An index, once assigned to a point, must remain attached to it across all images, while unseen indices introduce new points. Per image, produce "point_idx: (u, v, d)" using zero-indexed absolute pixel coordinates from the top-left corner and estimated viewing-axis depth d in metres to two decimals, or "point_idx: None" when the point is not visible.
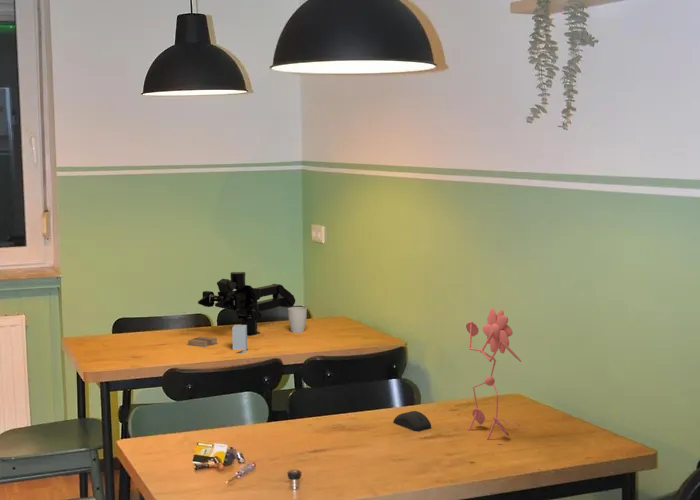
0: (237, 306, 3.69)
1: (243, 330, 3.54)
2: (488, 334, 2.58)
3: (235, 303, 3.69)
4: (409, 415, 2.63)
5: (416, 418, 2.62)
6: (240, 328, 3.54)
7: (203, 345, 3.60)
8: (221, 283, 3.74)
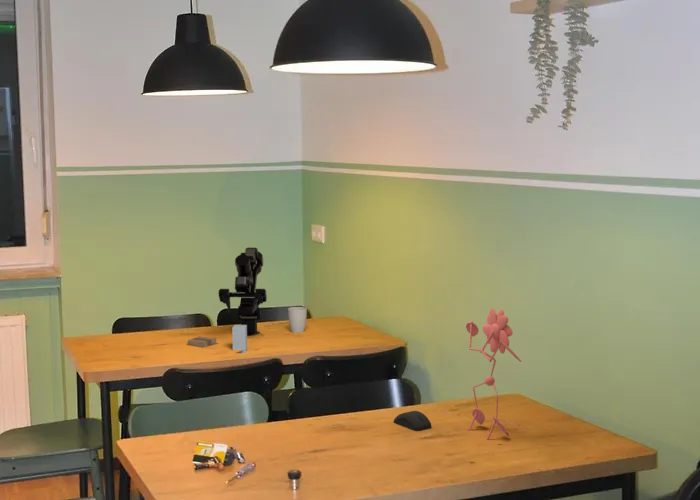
0: (266, 298, 3.69)
1: (243, 330, 3.54)
2: (488, 334, 2.58)
3: (264, 297, 3.68)
4: (409, 415, 2.63)
5: (416, 418, 2.62)
6: (240, 328, 3.54)
7: (203, 345, 3.60)
8: (241, 284, 3.64)
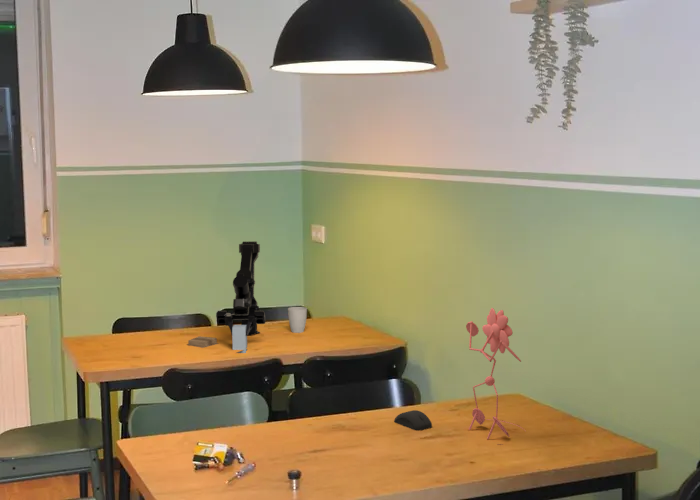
0: (264, 320, 3.61)
1: (243, 330, 3.54)
2: (488, 334, 2.58)
3: (262, 319, 3.60)
4: (410, 414, 2.63)
5: (417, 417, 2.62)
6: (240, 328, 3.54)
7: (204, 345, 3.60)
8: (239, 306, 3.55)
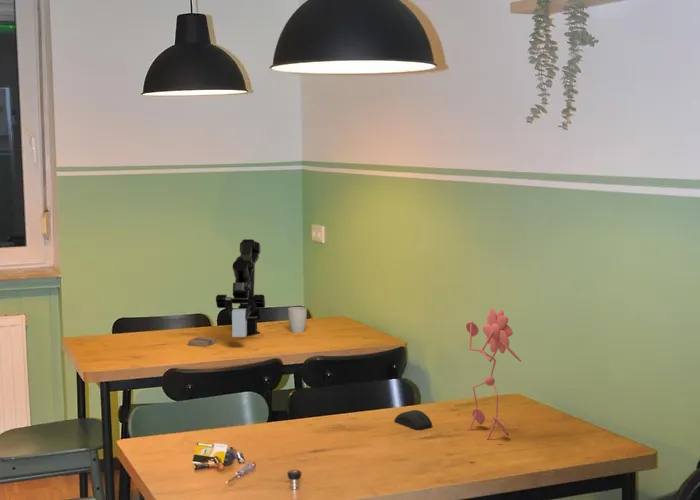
0: (264, 304, 3.60)
1: (243, 314, 3.53)
2: (488, 334, 2.58)
3: (262, 303, 3.59)
4: (410, 414, 2.64)
5: (417, 417, 2.63)
6: (240, 312, 3.53)
7: (204, 345, 3.60)
8: (239, 290, 3.55)
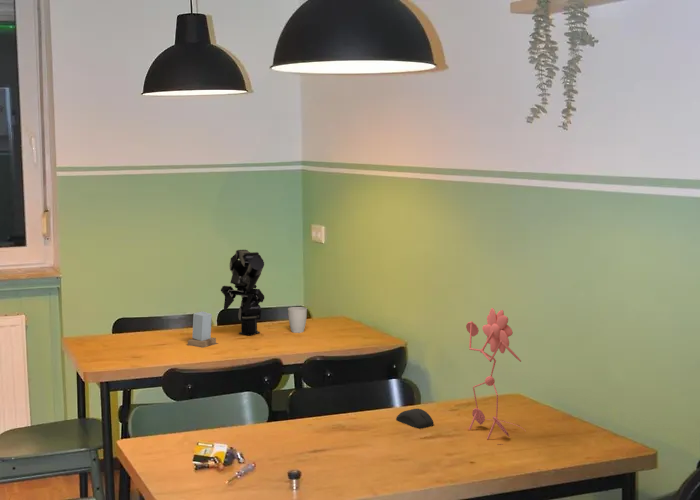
0: (261, 299, 3.69)
1: (201, 318, 3.60)
2: (488, 334, 2.58)
3: (258, 297, 3.69)
4: (412, 412, 2.65)
5: (418, 415, 2.64)
6: (199, 316, 3.61)
7: (203, 345, 3.60)
8: (235, 282, 3.69)
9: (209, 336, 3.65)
